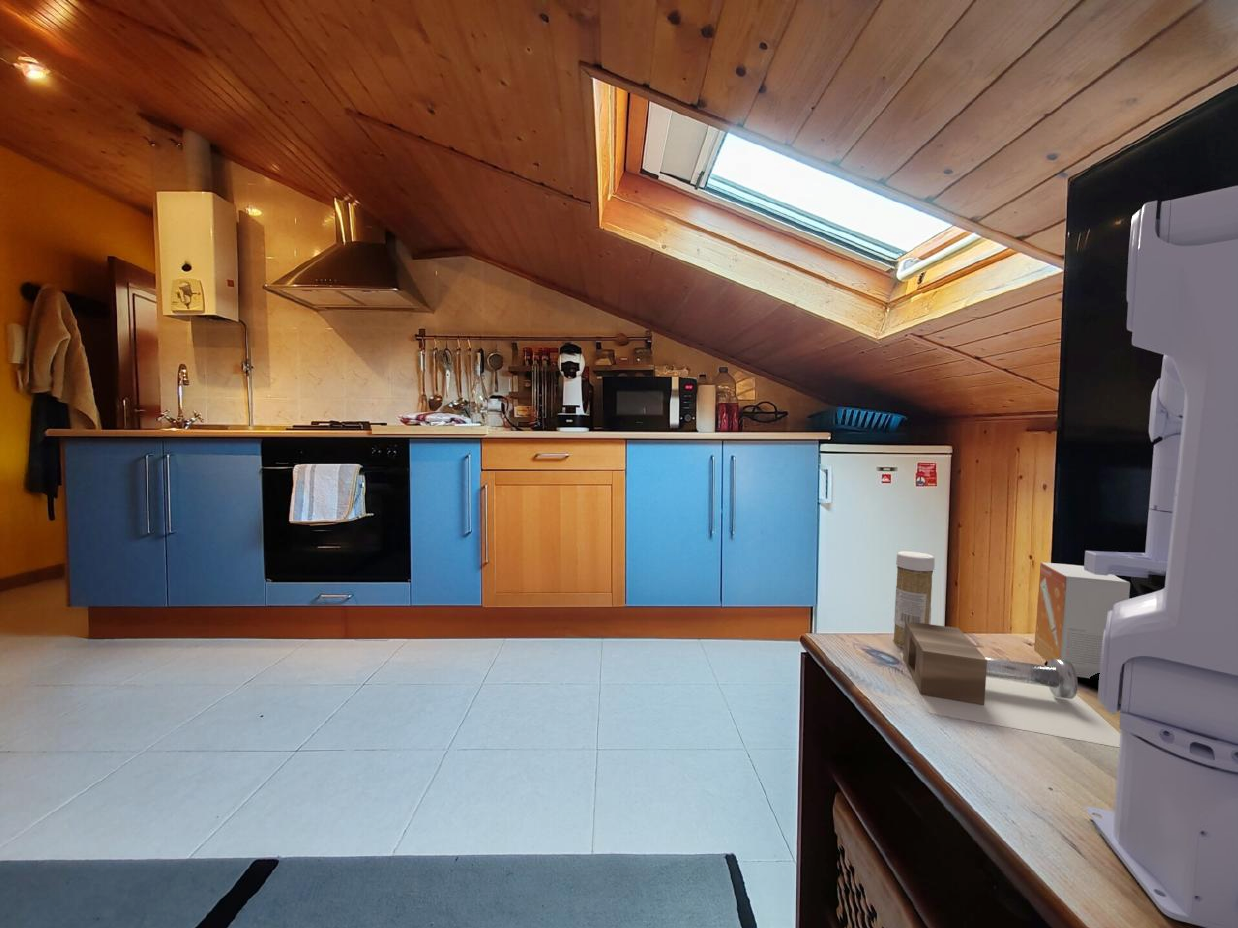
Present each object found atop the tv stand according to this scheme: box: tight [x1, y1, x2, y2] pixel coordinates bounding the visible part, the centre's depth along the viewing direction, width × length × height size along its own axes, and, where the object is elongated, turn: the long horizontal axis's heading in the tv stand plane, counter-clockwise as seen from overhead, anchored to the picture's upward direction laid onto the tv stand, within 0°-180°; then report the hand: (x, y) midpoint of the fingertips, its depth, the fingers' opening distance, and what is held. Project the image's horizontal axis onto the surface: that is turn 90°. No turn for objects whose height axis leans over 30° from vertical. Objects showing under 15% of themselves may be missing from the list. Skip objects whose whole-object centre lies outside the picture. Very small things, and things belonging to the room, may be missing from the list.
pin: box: [984, 656, 1079, 699], centre depth 58 cm, size 4×12×4 cm, turn 70°
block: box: [902, 621, 987, 706], centre depth 60 cm, size 10×6×5 cm, turn 160°
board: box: [899, 652, 1120, 749], centre depth 57 cm, size 16×17×1 cm
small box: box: [1033, 561, 1131, 679], centre depth 65 cm, size 8×6×13 cm
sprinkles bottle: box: [892, 550, 935, 648], centre depth 70 cm, size 5×5×14 cm
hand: (1181, 659), depth 46 cm, fingers closed
